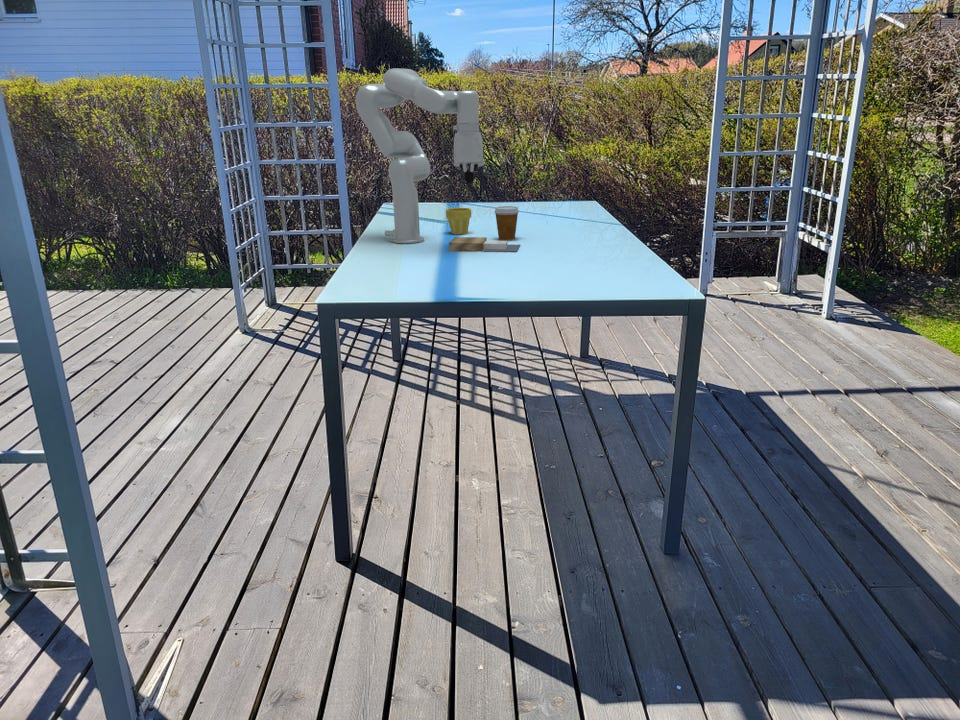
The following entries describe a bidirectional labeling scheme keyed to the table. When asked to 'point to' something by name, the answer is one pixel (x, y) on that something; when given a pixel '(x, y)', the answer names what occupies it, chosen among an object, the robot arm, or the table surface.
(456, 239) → the block
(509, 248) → the mat
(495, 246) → the tile
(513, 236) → the disposable coffee cup
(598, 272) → the table surface
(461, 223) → the plant pot
